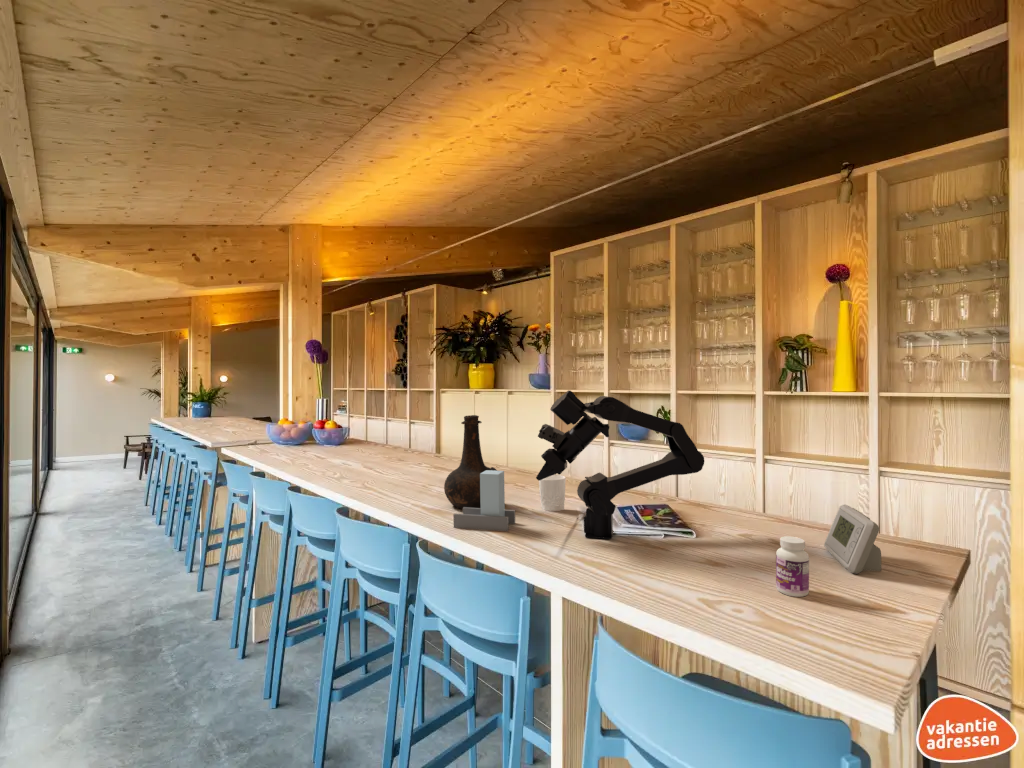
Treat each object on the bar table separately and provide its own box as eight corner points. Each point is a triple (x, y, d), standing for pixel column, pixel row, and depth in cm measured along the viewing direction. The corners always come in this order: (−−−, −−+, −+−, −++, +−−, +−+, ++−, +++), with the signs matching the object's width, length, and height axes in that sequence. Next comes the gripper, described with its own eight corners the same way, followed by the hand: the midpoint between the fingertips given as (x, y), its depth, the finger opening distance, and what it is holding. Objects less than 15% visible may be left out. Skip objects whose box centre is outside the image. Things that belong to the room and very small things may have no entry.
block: (505, 523, 142) (504, 470, 141) (499, 529, 137) (498, 474, 136) (487, 522, 143) (486, 470, 143) (480, 527, 138) (479, 473, 138)
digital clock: (823, 548, 121) (823, 501, 121) (870, 553, 118) (870, 505, 117) (831, 573, 107) (831, 520, 106) (886, 580, 103) (886, 524, 103)
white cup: (566, 507, 160) (565, 474, 160) (566, 515, 153) (565, 480, 152) (539, 507, 161) (539, 474, 161) (538, 514, 153) (537, 479, 153)
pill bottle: (771, 591, 98) (771, 539, 98) (781, 583, 102) (781, 533, 102) (803, 600, 94) (803, 546, 94) (813, 591, 98) (813, 539, 98)
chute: (515, 526, 142) (515, 510, 142) (507, 534, 135) (507, 517, 135) (464, 522, 146) (464, 507, 146) (453, 530, 139) (453, 514, 139)
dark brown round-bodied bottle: (502, 515, 153) (500, 417, 153) (440, 515, 154) (438, 418, 153) (504, 500, 171) (503, 412, 171) (449, 500, 172) (447, 413, 171)
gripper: (563, 410, 143) (524, 450, 147) (549, 416, 125) (505, 462, 129) (593, 440, 141) (553, 480, 145) (583, 451, 124) (537, 496, 127)
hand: (537, 479), depth 136 cm, fingers closed
